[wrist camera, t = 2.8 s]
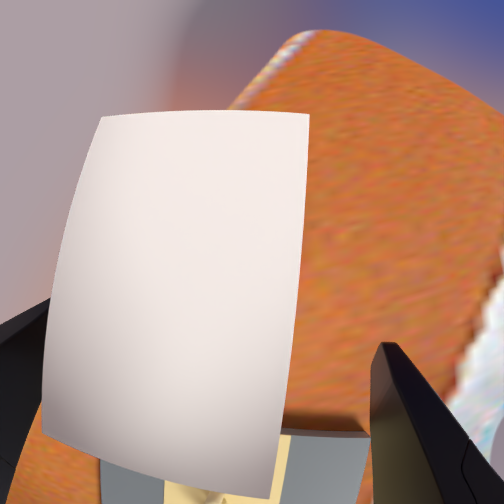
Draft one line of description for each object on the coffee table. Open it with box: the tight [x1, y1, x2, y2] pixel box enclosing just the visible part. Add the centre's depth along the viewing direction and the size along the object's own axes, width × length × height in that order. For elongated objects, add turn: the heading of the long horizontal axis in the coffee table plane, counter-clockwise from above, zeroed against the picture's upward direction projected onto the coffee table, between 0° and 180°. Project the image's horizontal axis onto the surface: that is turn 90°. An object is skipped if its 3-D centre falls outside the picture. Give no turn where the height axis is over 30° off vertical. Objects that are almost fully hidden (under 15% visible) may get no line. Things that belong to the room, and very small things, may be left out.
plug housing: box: [42, 110, 309, 499], centre depth 11 cm, size 6×4×12 cm, turn 173°
